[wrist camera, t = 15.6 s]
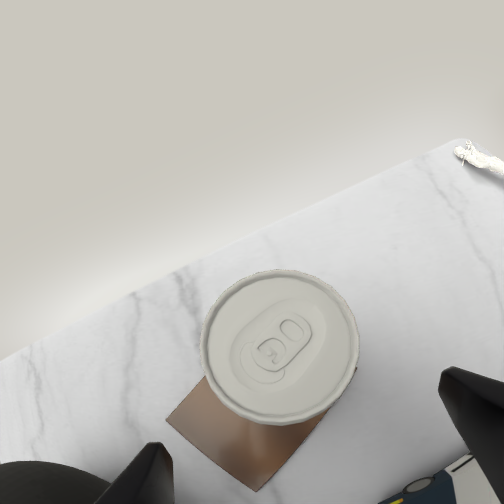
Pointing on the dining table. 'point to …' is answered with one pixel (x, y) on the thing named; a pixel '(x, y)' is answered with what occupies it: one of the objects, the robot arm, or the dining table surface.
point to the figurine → (479, 159)
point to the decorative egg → (48, 484)
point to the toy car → (450, 486)
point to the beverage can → (279, 347)
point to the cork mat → (237, 436)
